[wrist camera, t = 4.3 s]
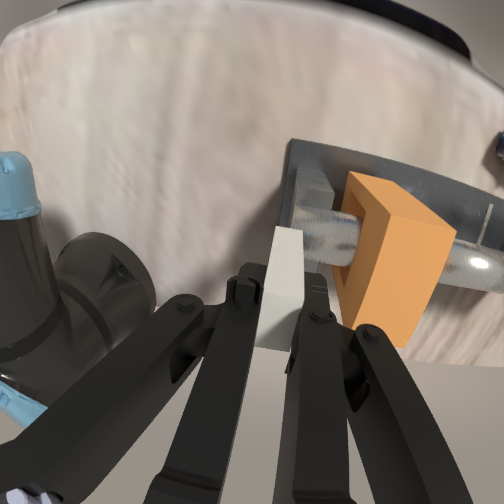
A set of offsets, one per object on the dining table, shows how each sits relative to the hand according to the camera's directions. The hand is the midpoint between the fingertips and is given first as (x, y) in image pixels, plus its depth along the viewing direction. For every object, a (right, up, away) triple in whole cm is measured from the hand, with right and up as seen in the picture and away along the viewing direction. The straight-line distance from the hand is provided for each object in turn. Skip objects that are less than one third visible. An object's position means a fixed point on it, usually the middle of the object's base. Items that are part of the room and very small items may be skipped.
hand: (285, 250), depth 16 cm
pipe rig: (+17, +3, +10) cm, 20 cm away
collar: (+8, +3, +8) cm, 11 cm away
